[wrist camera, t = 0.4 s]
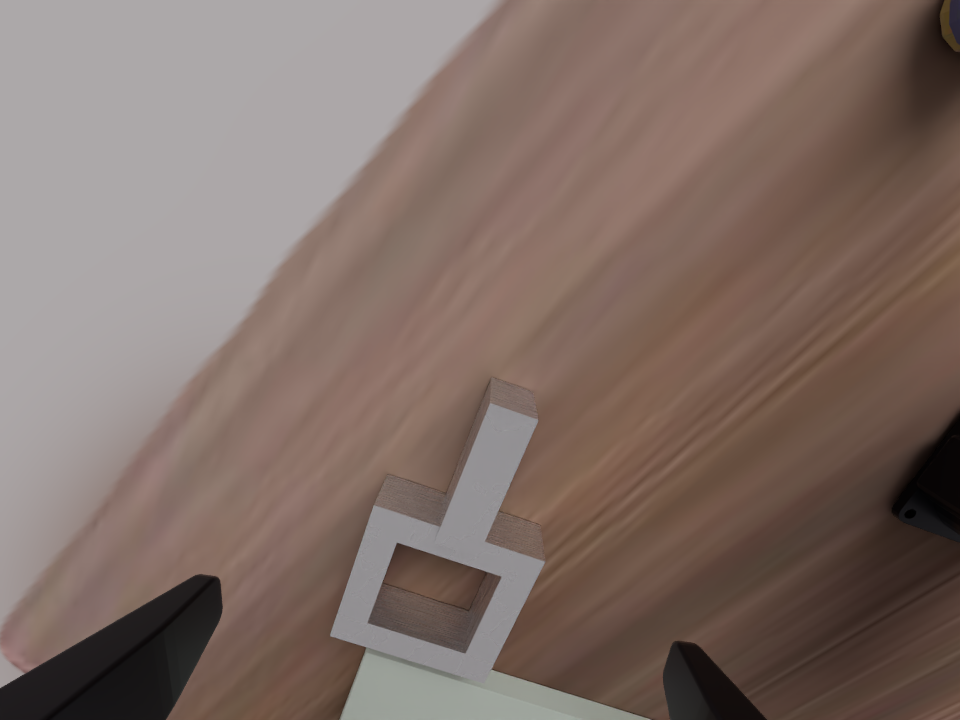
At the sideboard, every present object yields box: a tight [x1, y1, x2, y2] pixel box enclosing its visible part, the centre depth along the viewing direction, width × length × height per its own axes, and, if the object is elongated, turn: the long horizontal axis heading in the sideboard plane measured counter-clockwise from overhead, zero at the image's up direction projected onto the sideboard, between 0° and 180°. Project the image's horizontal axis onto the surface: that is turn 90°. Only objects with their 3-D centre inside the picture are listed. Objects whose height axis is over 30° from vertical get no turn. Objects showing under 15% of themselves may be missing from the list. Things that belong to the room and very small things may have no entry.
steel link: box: [330, 377, 545, 684], centre depth 21 cm, size 14×8×3 cm, turn 160°
